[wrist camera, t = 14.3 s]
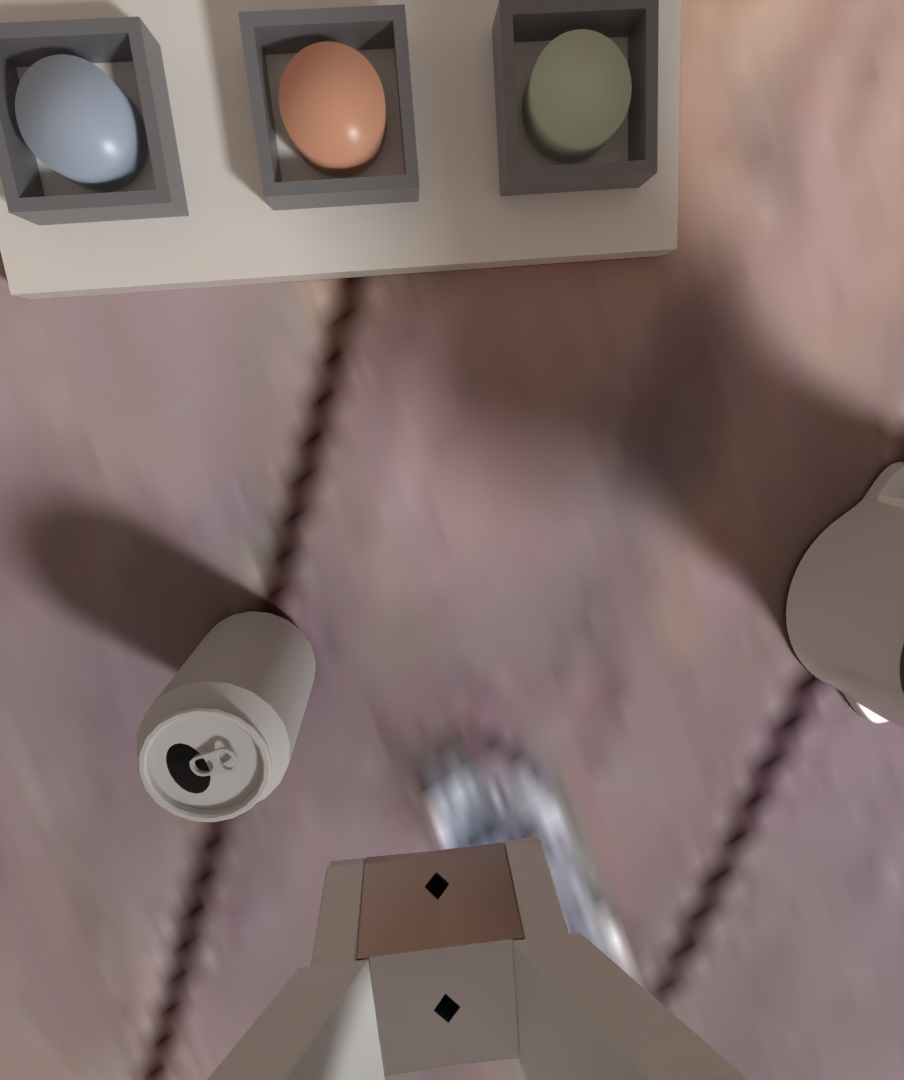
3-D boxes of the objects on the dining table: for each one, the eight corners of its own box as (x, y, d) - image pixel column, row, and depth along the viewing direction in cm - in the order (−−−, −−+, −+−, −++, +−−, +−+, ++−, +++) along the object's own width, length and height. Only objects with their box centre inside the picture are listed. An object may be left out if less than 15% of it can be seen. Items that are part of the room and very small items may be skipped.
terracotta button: (381, 62, 31) (379, 38, 29) (391, 173, 32) (390, 159, 30) (280, 67, 30) (271, 44, 28) (294, 179, 32) (286, 165, 30)
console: (665, -30, 33) (706, -93, 28) (662, 255, 36) (697, 238, 32) (-37, 1, 31) (-110, -61, 26) (33, 299, 34) (-21, 287, 30)
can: (182, 629, 40) (91, 731, 28) (290, 590, 40) (243, 676, 28) (231, 725, 42) (165, 857, 30) (335, 687, 42) (308, 806, 30)
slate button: (136, 74, 30) (115, 51, 28) (156, 188, 31) (138, 174, 29) (30, 80, 30) (2, 57, 28) (55, 194, 31) (29, 180, 29)
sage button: (616, 50, 31) (631, 26, 29) (616, 160, 33) (631, 145, 31) (519, 55, 31) (528, 31, 29) (524, 166, 32) (532, 150, 30)
